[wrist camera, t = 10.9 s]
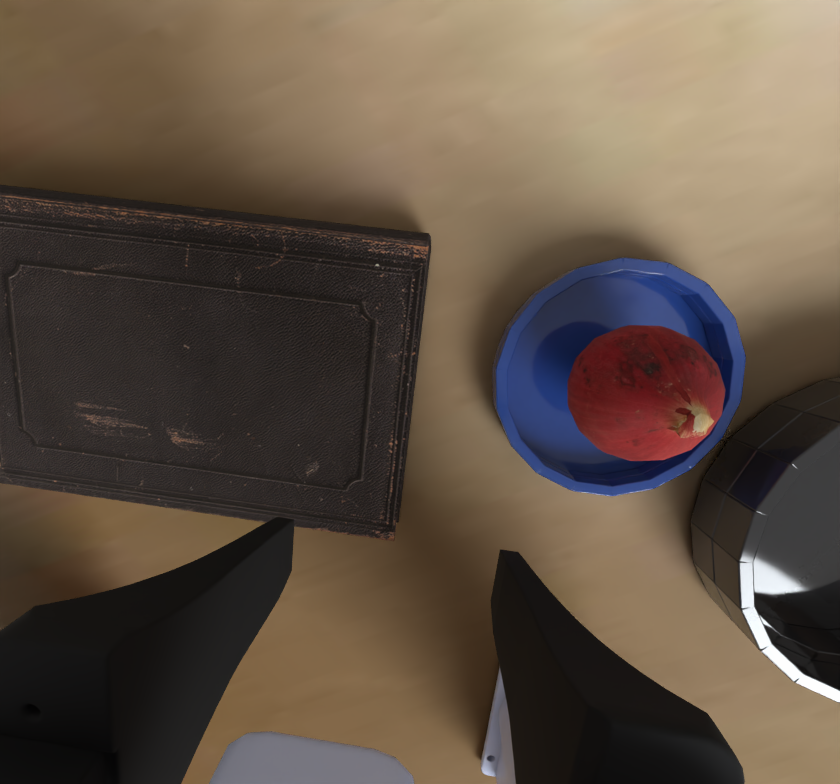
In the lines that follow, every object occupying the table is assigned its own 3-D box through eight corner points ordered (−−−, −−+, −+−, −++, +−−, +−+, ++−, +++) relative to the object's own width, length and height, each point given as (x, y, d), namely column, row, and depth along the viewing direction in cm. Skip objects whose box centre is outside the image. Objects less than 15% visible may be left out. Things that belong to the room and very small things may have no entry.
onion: (531, 351, 20) (584, 375, 13) (639, 303, 20) (767, 298, 12) (571, 447, 21) (644, 525, 14) (676, 405, 20) (817, 462, 13)
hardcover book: (398, 519, 23) (393, 542, 21) (35, 466, 24) (-7, 482, 22) (432, 239, 20) (430, 230, 18) (9, 191, 21) (-44, 176, 19)
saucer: (687, 494, 22) (708, 510, 20) (475, 465, 22) (478, 478, 20) (749, 278, 19) (779, 274, 18) (509, 250, 20) (515, 244, 18)
